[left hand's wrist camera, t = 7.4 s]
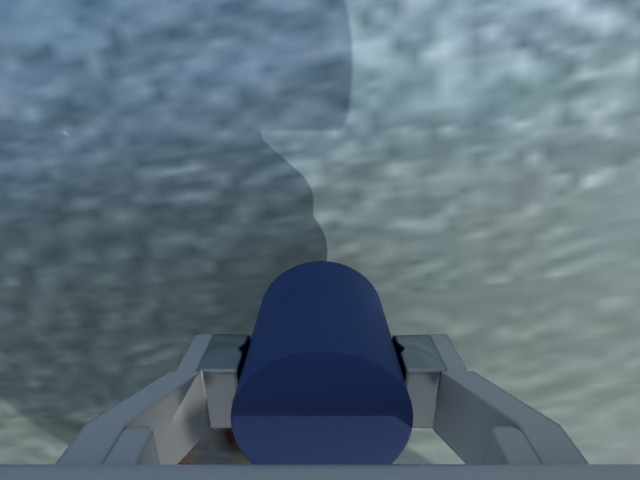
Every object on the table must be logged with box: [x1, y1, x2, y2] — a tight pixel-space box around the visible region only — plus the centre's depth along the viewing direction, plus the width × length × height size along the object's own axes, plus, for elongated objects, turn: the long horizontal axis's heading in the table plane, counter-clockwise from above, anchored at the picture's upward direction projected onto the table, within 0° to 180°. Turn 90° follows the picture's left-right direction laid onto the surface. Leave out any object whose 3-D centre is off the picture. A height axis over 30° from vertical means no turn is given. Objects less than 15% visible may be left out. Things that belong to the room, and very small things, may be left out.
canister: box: [231, 261, 413, 465], centre depth 10 cm, size 4×4×4 cm
